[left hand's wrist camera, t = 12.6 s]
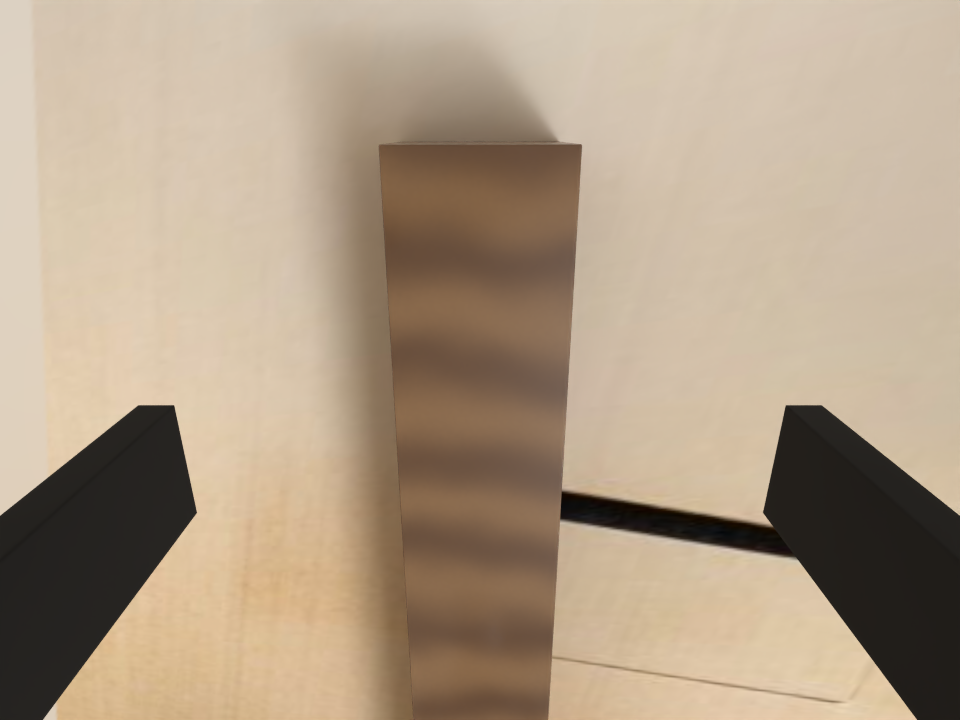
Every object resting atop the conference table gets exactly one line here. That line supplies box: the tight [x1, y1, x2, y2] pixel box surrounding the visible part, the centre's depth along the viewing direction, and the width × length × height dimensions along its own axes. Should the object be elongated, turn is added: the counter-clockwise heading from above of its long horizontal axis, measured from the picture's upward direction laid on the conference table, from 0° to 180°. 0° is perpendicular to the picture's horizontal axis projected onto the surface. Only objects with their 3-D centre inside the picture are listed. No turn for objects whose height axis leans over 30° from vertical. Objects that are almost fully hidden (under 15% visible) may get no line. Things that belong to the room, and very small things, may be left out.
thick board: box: [379, 142, 582, 720], centre depth 44 cm, size 80×9×7 cm, turn 0°
